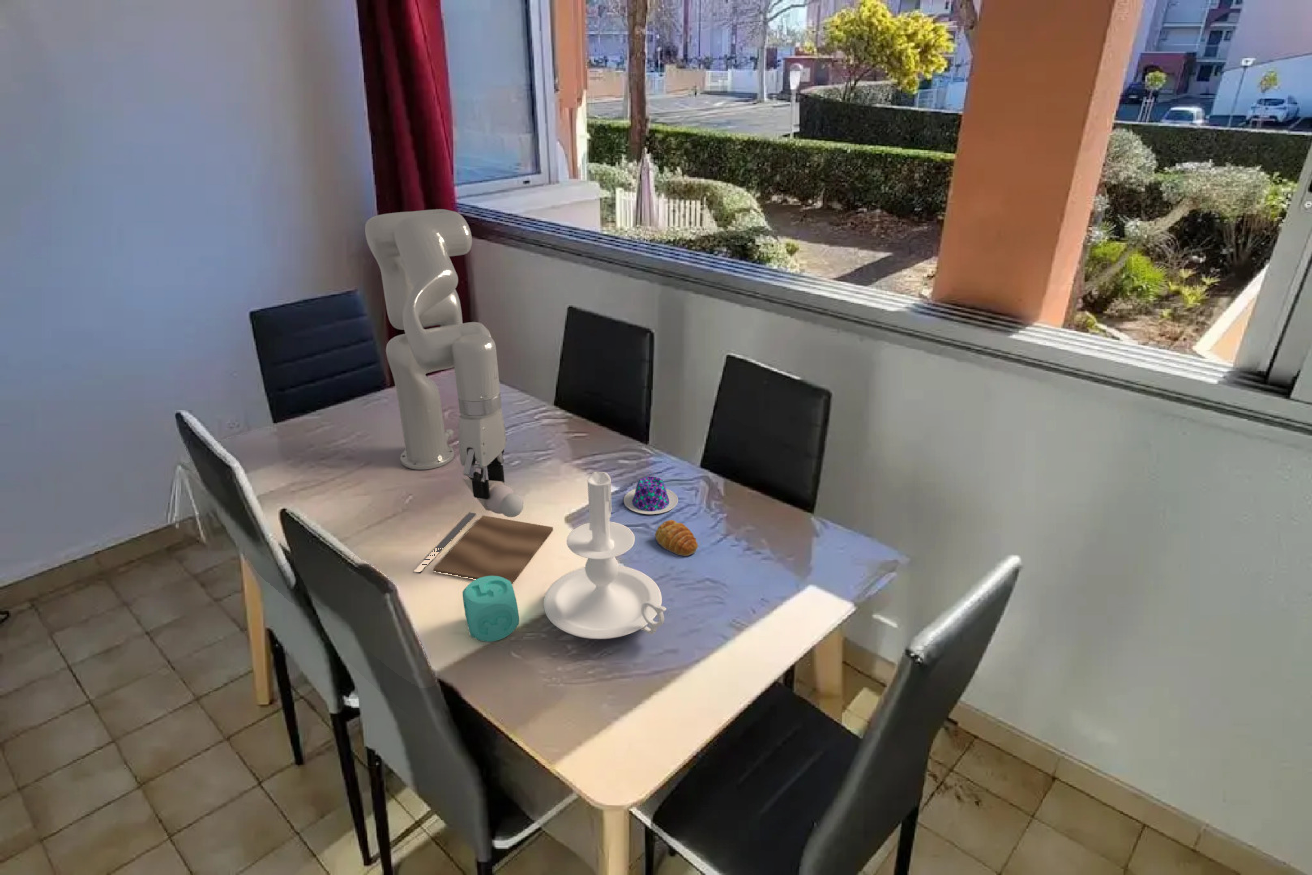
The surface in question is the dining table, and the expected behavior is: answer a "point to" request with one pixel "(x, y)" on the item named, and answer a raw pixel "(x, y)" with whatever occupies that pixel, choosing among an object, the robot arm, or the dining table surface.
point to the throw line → (453, 533)
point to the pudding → (650, 497)
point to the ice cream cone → (500, 499)
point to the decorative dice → (490, 608)
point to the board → (494, 549)
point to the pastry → (676, 538)
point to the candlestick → (603, 578)
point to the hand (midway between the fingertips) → (489, 489)
